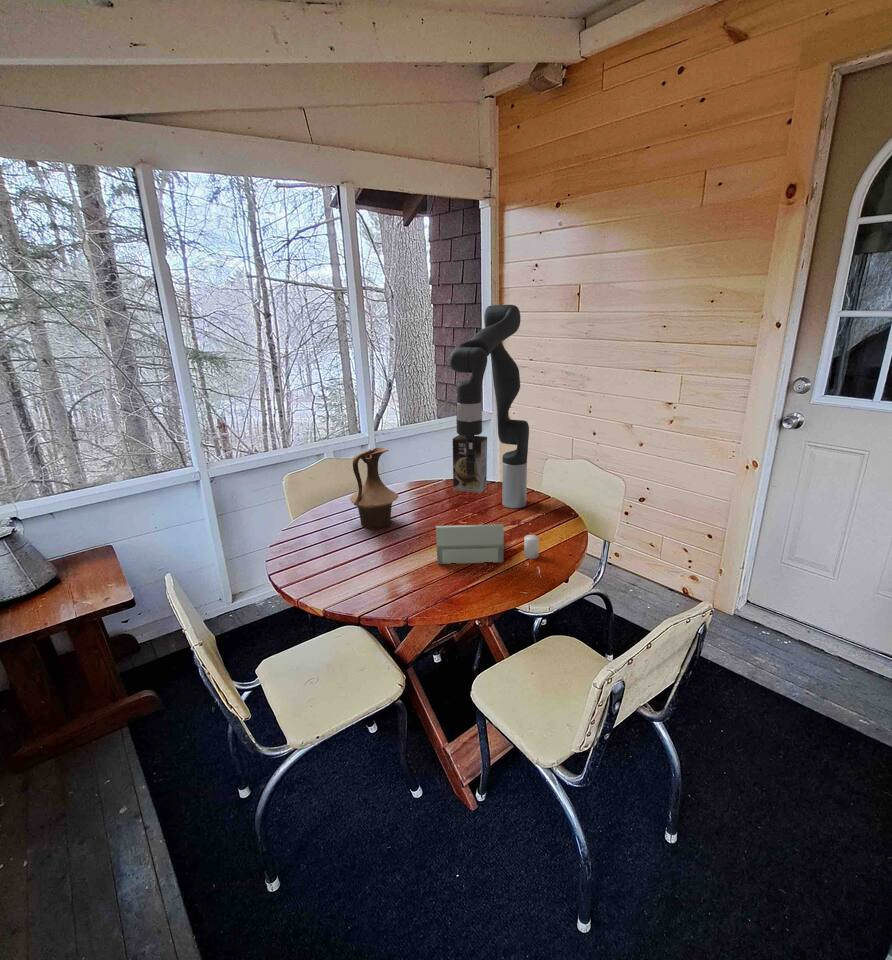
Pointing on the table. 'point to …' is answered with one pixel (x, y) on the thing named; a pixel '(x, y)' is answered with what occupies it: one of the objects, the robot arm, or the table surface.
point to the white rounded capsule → (531, 546)
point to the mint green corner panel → (470, 543)
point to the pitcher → (372, 492)
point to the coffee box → (460, 466)
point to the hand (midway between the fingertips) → (469, 470)
